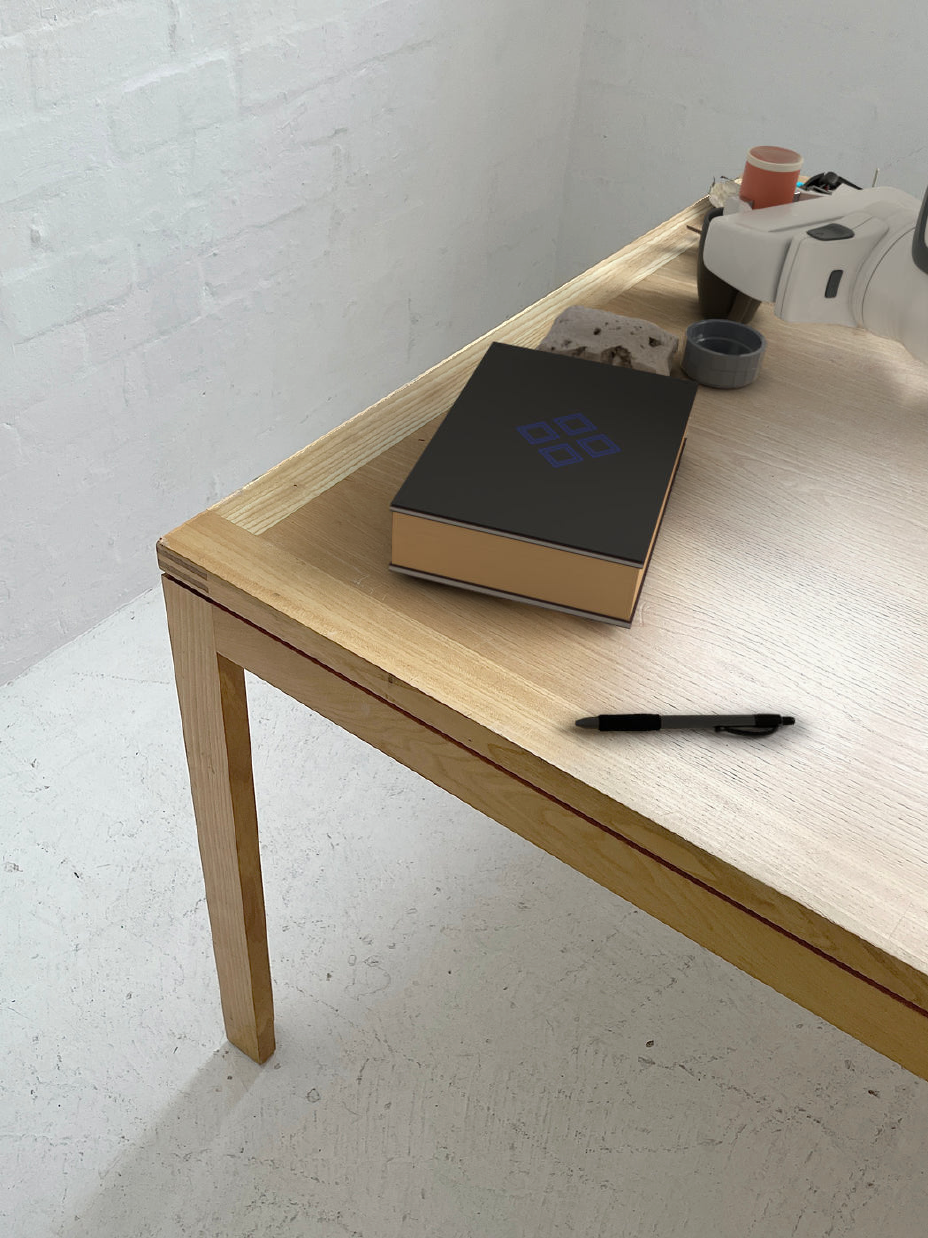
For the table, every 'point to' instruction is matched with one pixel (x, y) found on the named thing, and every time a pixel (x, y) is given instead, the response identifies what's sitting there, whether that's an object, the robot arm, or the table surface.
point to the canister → (770, 176)
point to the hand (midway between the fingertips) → (756, 200)
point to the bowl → (722, 353)
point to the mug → (720, 287)
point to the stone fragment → (722, 192)
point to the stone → (611, 340)
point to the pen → (689, 723)
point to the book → (546, 483)
